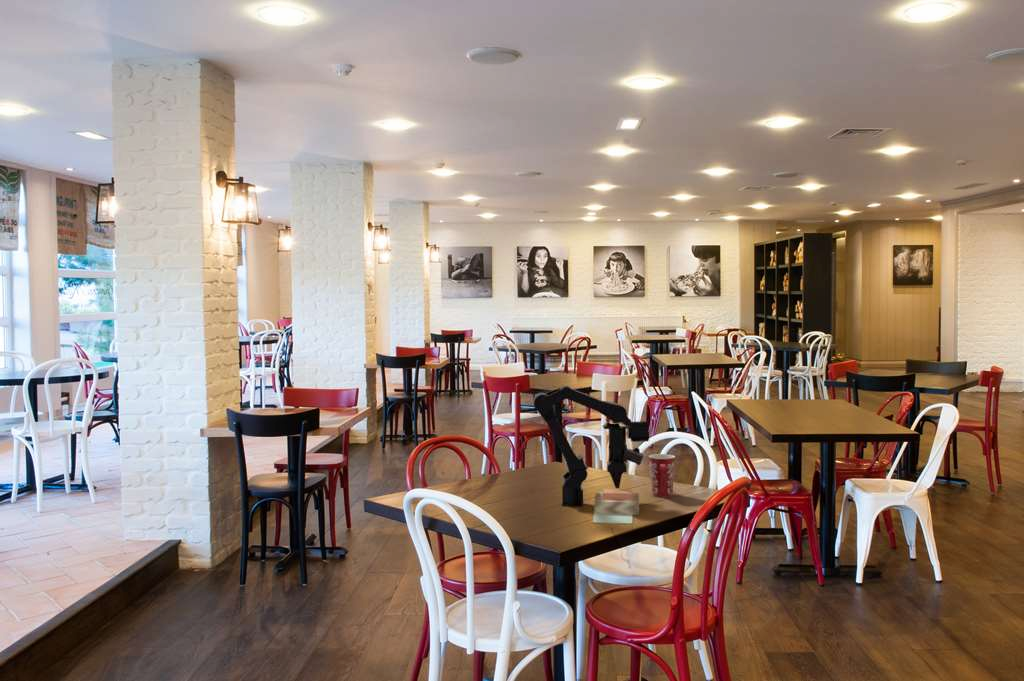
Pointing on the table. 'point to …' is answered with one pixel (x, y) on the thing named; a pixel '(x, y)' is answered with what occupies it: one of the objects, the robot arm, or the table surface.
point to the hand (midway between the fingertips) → (617, 488)
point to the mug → (662, 474)
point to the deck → (616, 505)
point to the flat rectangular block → (617, 494)
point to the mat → (613, 518)
